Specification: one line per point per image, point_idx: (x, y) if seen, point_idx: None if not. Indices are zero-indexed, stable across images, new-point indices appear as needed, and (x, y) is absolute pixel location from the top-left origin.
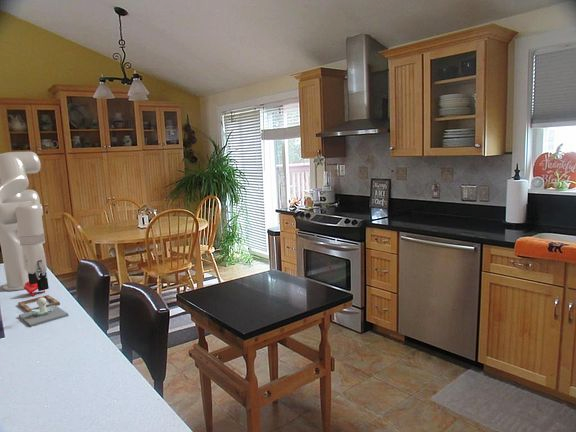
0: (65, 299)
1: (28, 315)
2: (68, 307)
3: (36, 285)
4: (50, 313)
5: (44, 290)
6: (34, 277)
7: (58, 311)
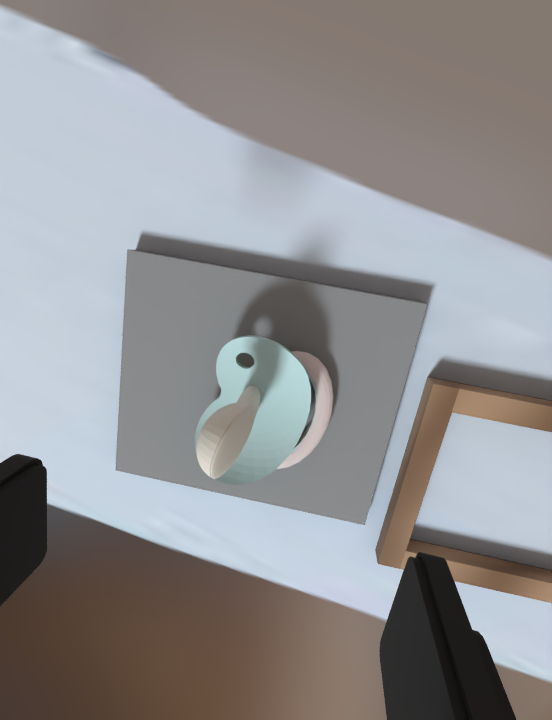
0: None
1: (332, 333)
2: (270, 540)
3: None
4: None
5: None
6: (412, 716)
7: None
